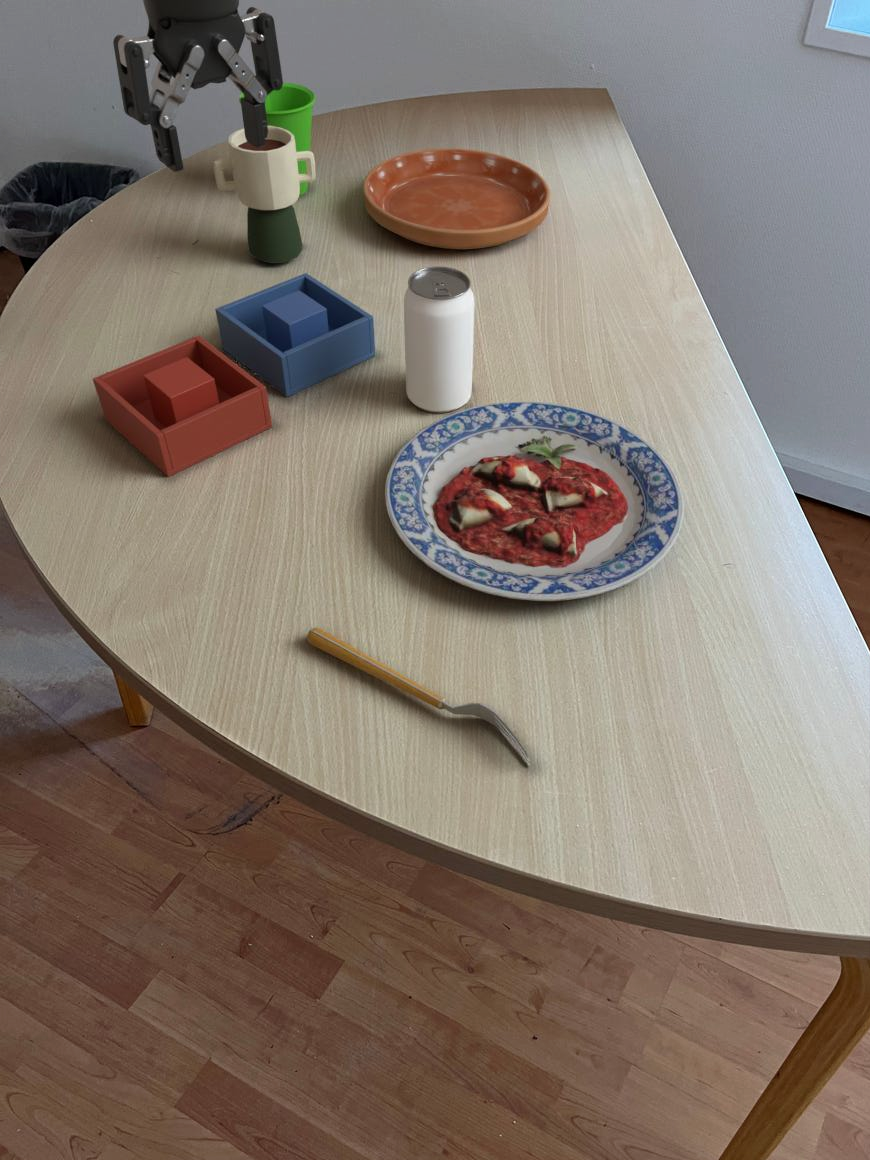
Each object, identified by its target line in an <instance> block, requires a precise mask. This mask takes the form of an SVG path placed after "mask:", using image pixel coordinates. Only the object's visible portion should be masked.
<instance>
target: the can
mask: <svg viewBox="0 0 870 1160" xmlns="http://www.w3.org/2000/svg"><path fill="white" fill-rule="evenodd" d="M403 295H404V296H403V322H404V323H403V325H404V326H403V329H404V330H403V331H404V353H405V354H404V358H405V359H404V361H405V362H404V364H405V389H406V390H405V391H406V396H407V398H408V400H409V401H410V402H411V403H412V405H414V406H415V407H417V408H419V409H420V410H423V411H424V412H429V413H434V414H435V413H436V414H445V413H450V412H454V411H456V410H459V409H461V408H462V407H463V406H464V405H465V404H467V403H468V402H469V401H470V399H471V397H472V392H473V372H474V371H473V368H474V367H473V365H474V339H475V338H474V335H475V295H474V293H473V289H472V288H471V279H470V278H469V276H468V275H467V274H466V273H464V272H462V271H461V270H459V269H456V268H453V267H449V266H428V267H424V268H421V269H418V270H416V271H414V272H413V273H412V274H411V275H410V276H409V277H408V280H407V288H406V290H405V293H404V294H403Z"/></svg>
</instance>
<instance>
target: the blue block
mask: <svg viewBox="0 0 870 1160" xmlns="http://www.w3.org/2000/svg"><path fill="white" fill-rule="evenodd" d="M262 311H263V317H264V324H265V331H266V337H267V342H269V343H270V344H271V345H273V346H274V347H275V348H277V349H278V350H280V351H281V352H282V353H283V352H285V351H288V350H290V349H292V348H294V347H297V346H299V345H301V344H303V343H306V342H308V341H310V340H313V339H315V338H317V337H319V336H322V335H324V334H326V333H328V332H329V329H328V319H327V309H326V308H325V307H323V306H322V305H320V304H319V303H317V302H316V301H314V300H313V299H311V298H310V297H308V296H307V295H305V294H304V293H302V292H301V291H296V292H294V293H291V294H289V295H286V296H284V297H282V298H279V299H277V300H274V301H272V302H269V303H267V304H264V305H262Z"/></svg>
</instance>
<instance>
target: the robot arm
mask: <svg viewBox="0 0 870 1160" xmlns="http://www.w3.org/2000/svg"><path fill="white" fill-rule="evenodd" d="M142 2H143V6H144V10H145V12H146V15H147V20H148V28H147V33H146V36H138V37H130V38H129V37H127V36H125V35H122V34H117V35H115V37H114V38H113V42H112V43H113V51H114V57H115V62H116V69H117V75H118V81H119V87H120V93H121V99H122V105H123V111H124V113H125V115H126V116H128V117H130V118H132V119H134V120H135V121H137V122H138V123H140V124H141V125H143V126H148V125H150V129H151V133H152V138H153V144H154V149H155V154H156V157H157V158H158V160H159V162H160V163H162V164H164V165H165V167H166V168H167V169H169V170H171V171H172V172H174V173H177V172H181V171H183V170H184V163H183V159H182V158H183V157H182V151H181V146H180V141H179V136H178V130H177V126H175V125H174V124H173V123H174V120H175V117H176V116H177V113H178V110H179V107H180V106H181V104H184V103H185V101H186V99H187V97H188V94H189V91H190V90H191V89H193V90H197V89H202V88H204V87H206V86H207V85H210V84H223V83H226V82H227V78H228V79H229V80H230V81H231V83H233V84H234V86H235V87H236V88H237V89H238V90H239V91H240V93H243V94H244V97H242V98H240V100H241V103H240V106H241V108H240V109H241V115H242V122H243V128H244V131H245V138H246V140H247V142H248V143H250V144H251V145H253V146H255V147H256V148H258V147H262V146H264V145H265V138H267V135H268V126H267V117H266V108H265V100H266V98H267V95H268V94H269V93H271V92H272V91H273V90H276V91H278V90H280V89H281V88H282V86H283V83H284V80H283V73H282V66H281V58H280V51H279V45H278V38H277V37H278V36H277V31H276V24H275V19H274V17H273V16H272V15H271V14H270V13H267V12H265V11H263V10H260V9H259V8H256V7H254V6H250V7H248V8H247V10H246V13H245V14H243V15H240V13H239V10H238V8H239V6H240V0H142ZM245 38H246V39H247V40H248V41H250V47H251V53H252V54H251V55H252V61H253V66H254V72H255V73H254V72H253V71H252V69H251V68H250V67H249V65H247V63H246V62H245V61H244V59H242V57H241V56H240V55H239V53H240V50H241V47H242V45H243V43H244V41H245V40H244V39H245ZM151 55H153V56H154V57H155V58H156V59H157V60H158V63H157V66H156V68H155V71H154V74H153V75H152V78H151V88H152V89H151V91H150V93H149V85H148V79H147V69H148V68H149V67H150V65H151V64H150V57H151ZM172 77H173V78H174V80H173V82H172V83H171V79H172Z"/></svg>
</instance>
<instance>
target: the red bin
mask: <svg viewBox="0 0 870 1160" xmlns="http://www.w3.org/2000/svg"><path fill="white" fill-rule="evenodd" d="M186 357H187V358H189V359H190V360H191V361H192V362H194V363H195V364H196V365H198V366H199V367H200V368H201V369H203V370H204V371H205V372H206V373H208V374H209V375H210V376H211V377H213V378H214V380H215V385H216V390H217V395H218V400H219V404H218V405H215V406H213V407H211V408H209V409H207V410H204V411H202V412H200V413H198V414H196V415H193V416H191V417H189V418H187V419H185V420H182V421H180V422H178V423H176V424H173V425H171V426H169V427H165V426H164V425H163V424H162V423H161V422H160V421H158V420H157V419H156V418H155V417H154V414H153V410H152V406H151V403H150V399H149V395H148V391H147V388H146V384H145V380H144V376H143V375H145V374H148V373H150V372H152V371H155V370H157V369H160V368H162V367H164V366H167V365H169V364H172V363H174V362H176V361H179V360H181V359H183V358H186ZM92 381H93V385H94V388H95V392H96V394H97V398H98V401H99V404H100V407H101V410H102V414H103V416H104V417H103V418H104V419H105V421H106V422H107V423H109V424H110V426H112V427H113V428H114V429H115V430H116V431H118V432H119V434H121V435H122V436H123V437H124V438H125V439H126V440H127V441H128V442H129V443H131V444H132V445H133V446H134V447H135V448H136V449H137V450H138V451H139V452H140V453H141V454H142V455H144V456H145V457H146V458H147V459H148V460H149V461H150V462H151V463H153V465H155V466H156V467H157V468H158V469H159V470H160V471H161V472H163V474H164V475H166V476H167V477H168V478H170V477H173V476H174V475H175V474H178V473H180V472H182V471H185V470H186V469H188V468H191V467H193V466H194V465H197V464H199V463H201V462H203V461H206V460H207V459H209V458H211V457H213V456H215V455H217V454H220V453H222V452H223V451H226V450H228V449H230V448H232V447H234V446H236V445H239V444H240V443H242V442H245V441H246V440H248V439H250V438H253V437H255V436H257V435H259V434H262V433H263V432H265V431H267V430H269V429H271V428H273V423H272V417H271V411H270V404H269V398H268V391H267V387H266V385H264V384H263V383H261V382H260V381H259V380H258V379H256V378H255V377H254V376H253V375H251V374H250V373H249V372H247V371H246V370H245V369H243V368H242V367H241V366H239V365H238V364H237V363H235V362H234V361H233V360H231V359H230V358H229V357H227V355H225V354H224V353H222V352H221V351H220V350H218V349H217V348H216V347H215V346H213V345H212V344H210V343H209V342H208V341H207V340H205V339H204V338H203V337H201V336H200V335H195V336H193V337H190V338H188V339H186V340H183V341H181V342H178V343H176V344H174V345H171V346H169V347H166V348H163V349H161V350H159V351H157V352H155V353H152V354H149V355H147V356H145V357H141V358H140V359H137V360H134V361H132V362H130V363H127V364H125V365H122V366H120V367H117V368H115V369H112V370H110V371H108V372H106V373H105V372H104V373H103V374H100V375H98V376H95V377H93V378H92Z"/></svg>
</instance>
